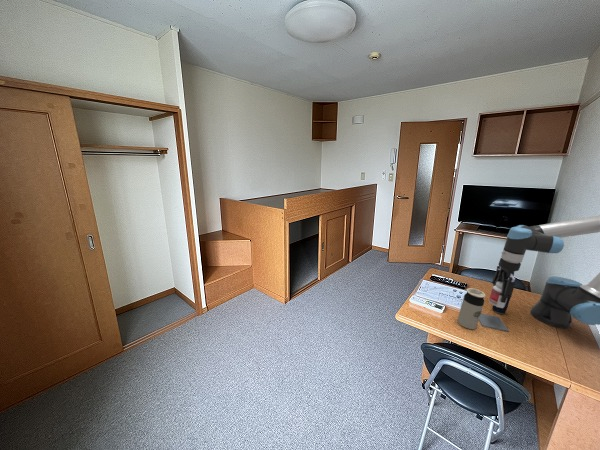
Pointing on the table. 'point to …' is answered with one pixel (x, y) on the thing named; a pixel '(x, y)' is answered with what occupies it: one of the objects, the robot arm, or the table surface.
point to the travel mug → (471, 308)
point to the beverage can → (501, 310)
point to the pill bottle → (495, 293)
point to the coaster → (492, 322)
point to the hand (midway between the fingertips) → (496, 303)
